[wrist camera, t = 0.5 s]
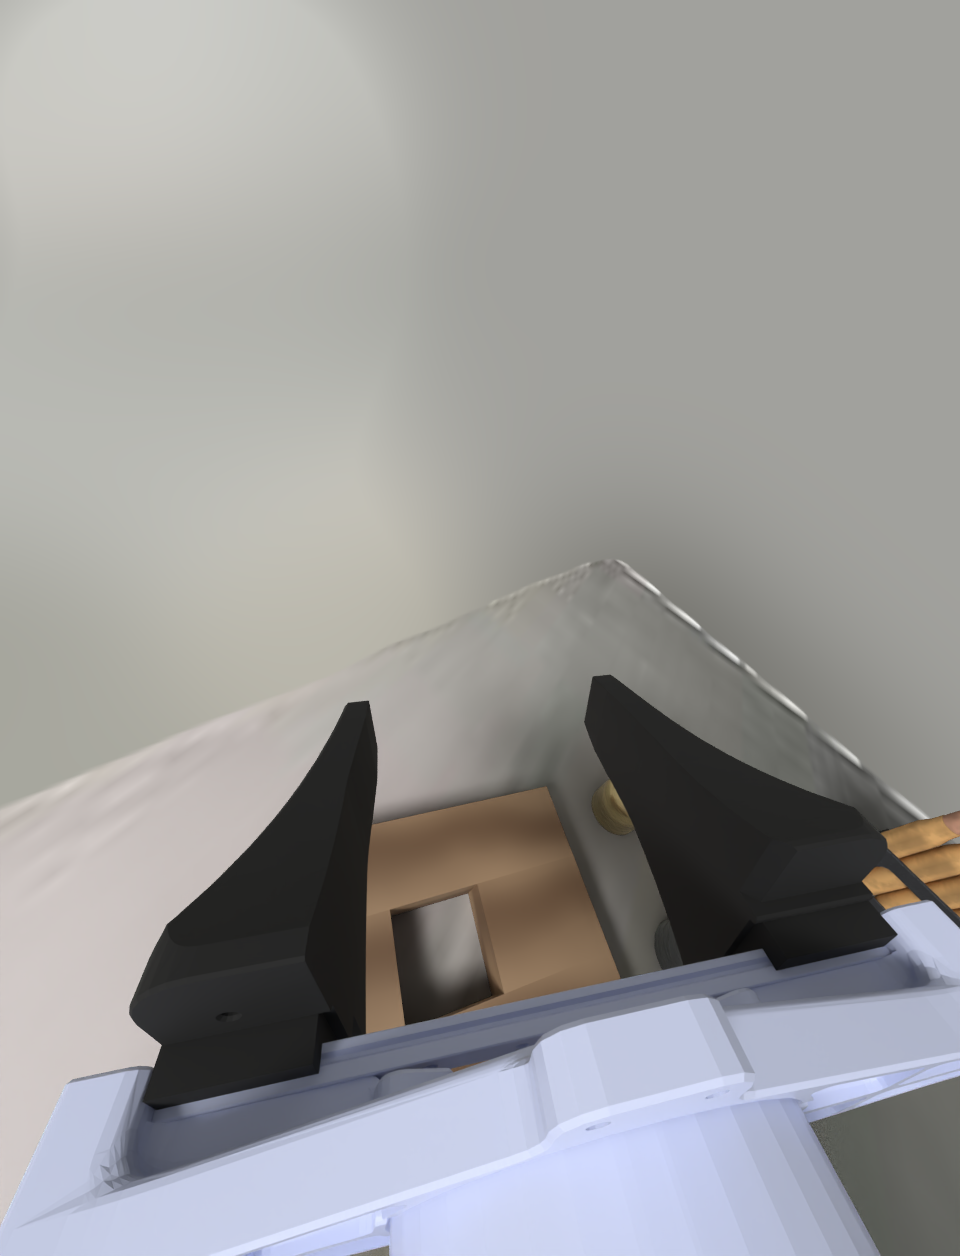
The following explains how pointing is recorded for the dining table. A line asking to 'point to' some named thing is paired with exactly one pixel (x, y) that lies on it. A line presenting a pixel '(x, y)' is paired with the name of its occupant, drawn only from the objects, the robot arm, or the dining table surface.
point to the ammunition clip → (919, 866)
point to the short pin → (611, 810)
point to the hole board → (486, 900)
